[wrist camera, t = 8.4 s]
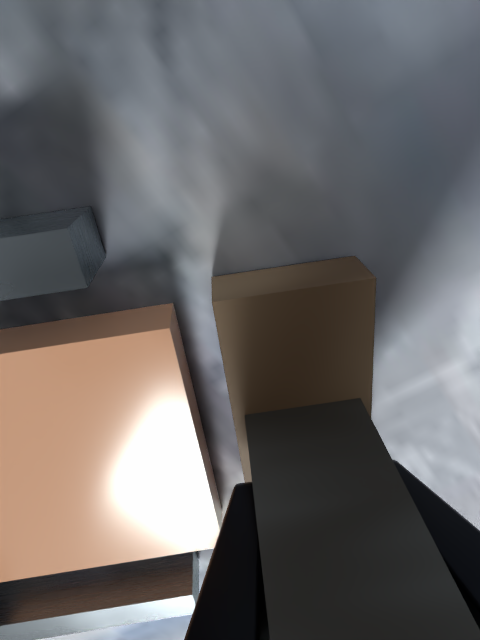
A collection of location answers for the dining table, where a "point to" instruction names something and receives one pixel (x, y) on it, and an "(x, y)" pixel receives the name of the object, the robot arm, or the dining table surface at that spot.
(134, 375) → the tile
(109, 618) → the grey u-shaped frame
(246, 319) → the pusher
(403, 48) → the dining table surface
